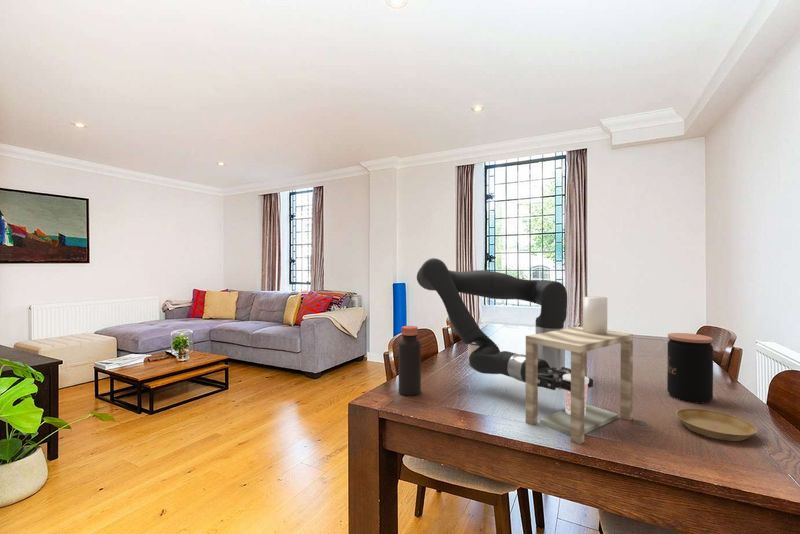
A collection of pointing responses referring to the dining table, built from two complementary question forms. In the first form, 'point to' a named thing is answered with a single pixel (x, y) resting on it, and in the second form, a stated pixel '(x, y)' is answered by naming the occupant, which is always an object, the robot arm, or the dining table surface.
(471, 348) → the beige lidded canister
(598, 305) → the candle
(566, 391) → the beverage cup
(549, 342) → the stand
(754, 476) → the dining table surface
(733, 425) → the plant saucer
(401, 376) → the bottle
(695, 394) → the coffee jar
